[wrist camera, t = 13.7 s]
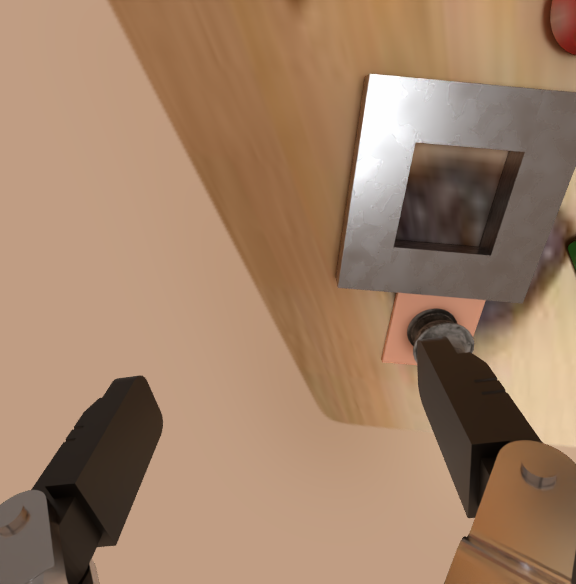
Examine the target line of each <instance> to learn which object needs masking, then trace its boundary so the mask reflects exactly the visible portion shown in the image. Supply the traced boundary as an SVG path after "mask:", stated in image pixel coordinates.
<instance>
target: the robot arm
mask: <svg viewBox="0 0 576 584" xmlns="http://www.w3.org/2000/svg"><path fill="white" fill-rule="evenodd" d="M417 367H418V387H419V393H420V397H421V401H422V404H423V407H424V410H425V412H426V415H427V417H428V420H429V422H430V425H431V427H432V430H433V432H434V435H435V437H436V440H437V442H438V445H439V447H440V450H441V452H442V455H443V457H444V460H445V462H446V465H447V467H448V470H449V472H450V475H451V477H452V480H453V482H454V485H455V487H456V490H457V492H458V495H459V497H460V500H461V502H462V505H463V507H464V510H465V512H466V515H467V517H468V518H475V520H474V522H473V525H472V528H471V531H470V533H469V535H468V536H467V537H463V538H462V540H461V542H460V544H459V546H458V548H457V551H456V553H455V556H454V558H453V561H452V564H451V567H450V569H449V572H448V575H447V577H446V580H445V583H444V584H576V464H575V463H574V462H573V461H572V459H570V458H569V457H568V456H567V455H565V454H564V453H562V452H561V451H559V450H558V449H556V448H554V447H552V446H549V445H547V444H544V443H542V441H541V440H540V439H539V437H538V436H537V434H536V433H535V432H534V430H533V429H532V427H531V426H530V424H529V423H528V422H527V420H526V419H525V417H524V416H523V414H522V413H521V412H520V410H519V409H518V407H517V406H516V404H515V403H514V402H513V400H512V399H511V397H510V396H509V394H508V393H506V392H505V389H504V387H503V386H502V384H501V383H500V382H499V380H498V381H497V377H496V376H495V374H494V373H493V372H492V370H491V369H490V367H489V366H488V364H487V363H486V362H484V361H483V360H481V359H480V358H478V357H477V356H475V355H474V354H472V353H471V352H466V353H459V354H457V352H456V351H455V349H454V347H453V346H452V344H451V342H450V341H449V339H448V338H447V337H446V336H443V337H436V338H428V339H420V340H418V341H417ZM162 428H163V419H162V414H161V411H160V409H159V407H158V405H157V402H156V400H155V398H154V396H153V393H152V391H151V389H150V387H149V384H148V382H147V380H146V379H145V377H143V376H133V377H126V378H119V379H115V380H114V381H113V382H112V384H111V385H110V387H109V388H108V390H107V391H106V393H105V394H104V396H103V397H102V398H99V399H98V400H97V401H96V402H95V403H94V404H92V405H91V406H90V407H89V408H88V409H87V410H86V411H85V412H84V413H83V415H82V416H81V417H80V419H79V420H78V422H77V423H76V425H75V426H74V430H72V431H71V432H70V434H69V435H68V437H67V438H66V442H64V443H63V444H62V445H61V447H60V448H59V450H58V451H57V453H56V454H55V456H54V457H53V459H52V460H51V462H50V463H49V465H48V466H47V467H46V469H45V470H44V472H43V473H42V475H41V476H40V478H39V479H38V481H37V482H36V484H35V485H34V487H33V488H32V489H31V490H29V491H25V492H22V493H19V494H17V495H15V496H13V497H11V498H10V499H8V500H6V501H5V502H3V503H2V504H1V505H0V584H100V583H99V579H98V574H97V570H96V566H95V563H94V562H93V560H92V556H93V554H94V552H95V550H96V547H102V546H115V545H116V544H117V541H118V539H119V536H120V534H121V531H122V529H123V527H124V524H125V522H126V519H127V517H128V514H129V512H130V510H131V507H132V505H133V502H134V500H135V497H136V495H137V492H138V490H139V487H140V485H141V482H142V480H143V477H144V475H145V472H146V470H147V468H148V465H149V463H150V460H151V458H152V455H153V453H154V450H155V448H156V445H157V443H158V441H159V438H160V436H161V433H162Z"/></svg>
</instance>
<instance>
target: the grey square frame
mask: <svg viewBox="0 0 576 584" xmlns="http://www.w3.org/2000/svg"><path fill="white" fill-rule="evenodd" d="M415 142H419V143H430V144H441V145H452V146H464V147H475V148H486V149H497V150H508V151H509V153H508V156H507V159H506V163H505V166H504V169H503V172H502V176H501V179H500V182H499V185H498V188H497V192H496V195H495V198H494V201H493V204H492V208H491V211H490V214H489V217H488V220H487V224H486V227H485V230H484V233H483V236H482V240H481V243H480V246H479V247H475V246H463V245H452V244H440V243H428V242H417V241H405V240H395V237H396V233H397V228H398V223H399V218H400V214H401V209H402V204H403V199H404V194H405V190H406V185H407V180H408V175H409V171H410V166H411V161H412V156H413V152H414V147H415ZM575 167H576V93H575V92H564V91H553V90H542V89H531V88H520V87H509V86H498V85H487V84H476V83H465V82H454V81H443V80H432V79H421V78H410V77H399V76H388V75H377V74H369V75H367V76H365V80H364V87H363V94H362V100H361V107H360V114H359V121H358V128H357V134H356V141H355V148H354V155H353V162H352V169H351V175H350V182H349V189H348V196H347V203H346V210H345V216H344V223H343V230H342V237H341V244H340V251H339V257H338V264H337V271H336V282H337V286H338V288H349V289H361V290H372V291H384V292H396V293H408V294H419V295H431V296H443V297H455V298H466V299H478V300H490V301H502V302H513V303H523V301H524V298H525V296H526V293H527V290H528V288H529V285H530V283H531V280H532V278H533V275H534V272H535V270H536V267H537V265H538V262H539V260H540V257H541V254H542V252H543V249H544V247H545V244H546V242H547V239H548V236H549V234H550V231H551V229H552V226H553V224H554V221H555V218H556V216H557V213H558V211H559V208H560V206H561V203H562V200H563V198H564V195H565V193H566V190H567V188H568V185H569V182H570V180H571V177H572V175H573V172H574V170H575Z"/></svg>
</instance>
